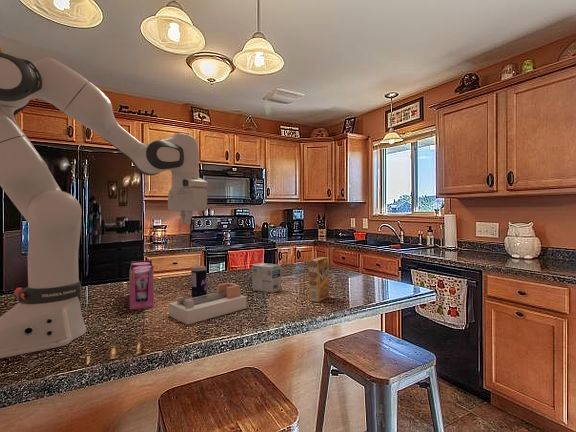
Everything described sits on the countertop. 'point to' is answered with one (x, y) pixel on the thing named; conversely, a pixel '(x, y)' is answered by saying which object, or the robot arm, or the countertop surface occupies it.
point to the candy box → (318, 279)
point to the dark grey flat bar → (206, 298)
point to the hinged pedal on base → (208, 305)
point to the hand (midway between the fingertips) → (186, 224)
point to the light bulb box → (266, 277)
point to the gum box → (141, 284)
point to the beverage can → (198, 281)
